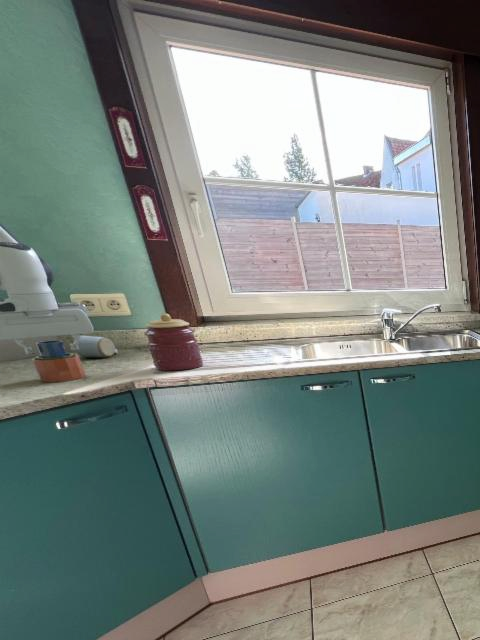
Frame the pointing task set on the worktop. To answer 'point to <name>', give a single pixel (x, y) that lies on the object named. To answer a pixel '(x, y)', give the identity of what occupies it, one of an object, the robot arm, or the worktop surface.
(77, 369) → the orange faceted bowl
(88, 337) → the ceramic mug
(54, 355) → the dark blue cylinder
